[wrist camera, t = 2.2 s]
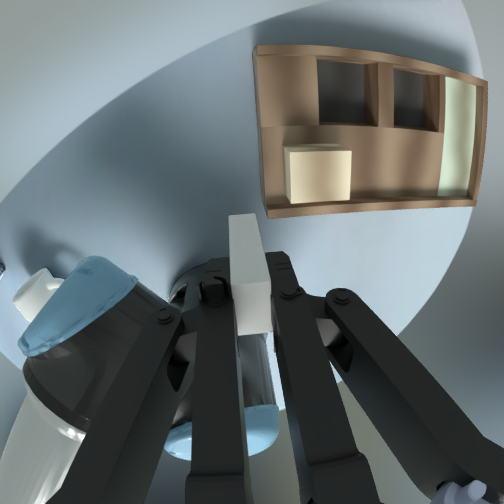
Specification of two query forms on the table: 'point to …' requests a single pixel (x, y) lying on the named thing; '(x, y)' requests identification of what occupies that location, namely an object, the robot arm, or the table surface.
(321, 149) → the block
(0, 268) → the ink box
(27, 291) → the mug
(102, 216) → the table surface
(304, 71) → the track
